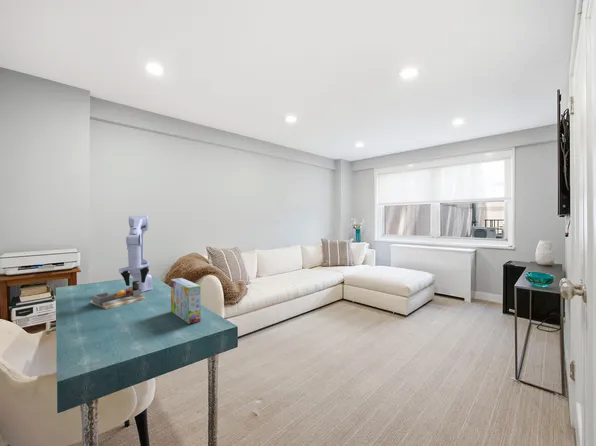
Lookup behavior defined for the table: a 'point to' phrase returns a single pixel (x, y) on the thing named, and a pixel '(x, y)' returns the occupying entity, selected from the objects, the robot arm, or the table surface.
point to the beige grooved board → (121, 300)
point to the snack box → (186, 300)
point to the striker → (134, 289)
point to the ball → (121, 293)
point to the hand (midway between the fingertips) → (135, 284)
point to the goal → (102, 298)
